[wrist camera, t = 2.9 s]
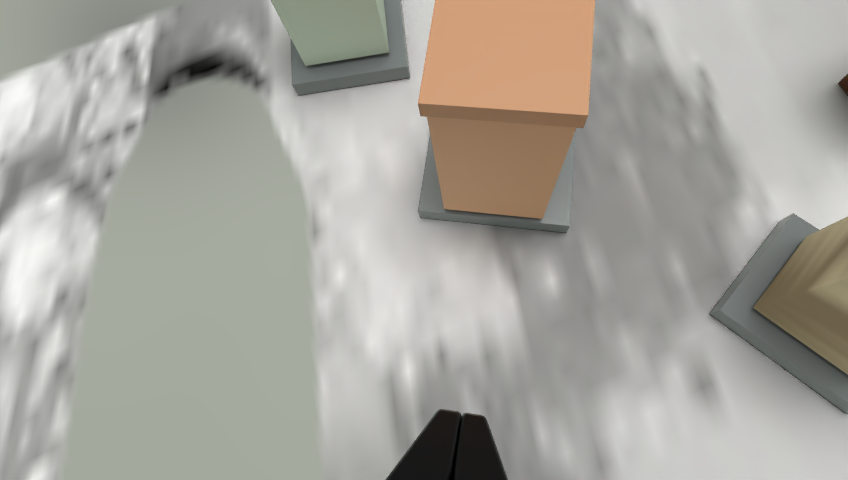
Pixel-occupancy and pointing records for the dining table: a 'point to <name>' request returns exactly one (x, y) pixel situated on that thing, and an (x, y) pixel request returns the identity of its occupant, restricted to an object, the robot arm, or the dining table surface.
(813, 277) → the oak key
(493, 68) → the orange rectangular block
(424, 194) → the terracotta key base
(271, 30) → the dining table surface
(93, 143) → the dining table surface
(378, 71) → the sage key base
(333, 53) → the sage key
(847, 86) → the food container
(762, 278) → the oak key base
